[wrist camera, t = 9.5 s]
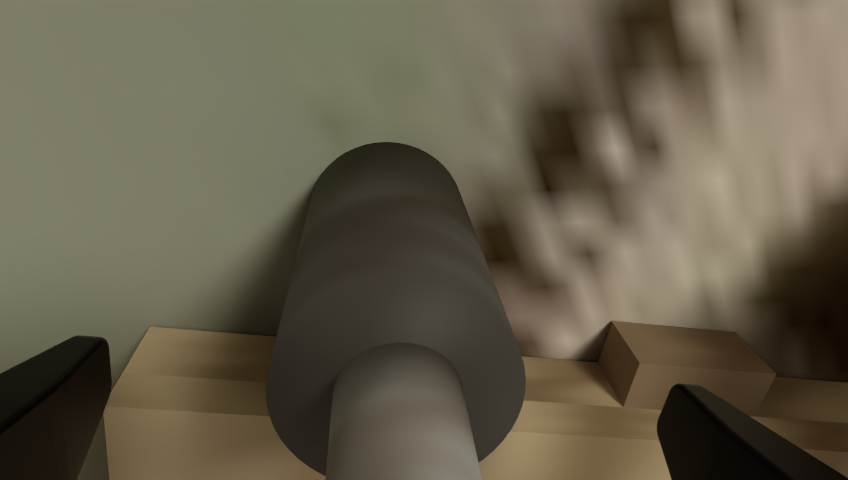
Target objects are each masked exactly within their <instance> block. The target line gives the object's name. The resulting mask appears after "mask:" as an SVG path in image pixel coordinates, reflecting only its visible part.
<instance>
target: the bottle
mask: <svg viewBox="0 0 848 480" xmlns="http://www.w3.org/2000/svg"><path fill="white" fill-rule="evenodd" d="M525 387H526V375H525V367H524V363H523V359H522V356H521V352H520V350H519V347H518V344H517V342H516V339H515V337H514V334H513V331H512V329H511V326H510V323H509V321H508V318H507V315H506V313H505V310H504V308H503V305H502V302H501V300H500V297H499V294H498V292H497V289H496V287H495V284H494V281H493V279H492V276H491V273H490V271H489V268H488V266H487V263H486V260H485V258H484V255H483V252H482V250H481V247H480V245H479V242H478V239H477V237H476V234H475V231H474V229H473V226H472V224H471V221H470V218H469V216H468V213H467V210H466V208H465V205H464V203H463V200H462V197H461V195H460V192H459V189H458V187H457V185H456V183H455V181H454V179H453V178H452V176H451V174H450V173H449V172H448V170H447V169H446V168H445V167H444V166H443V165H442V164H441V163H440V162H439V161H438V160H436V159H435V158H434V157H432V156H431V155H429V154H428V153H426V152H424V151H422V150H420V149H418V148H415V147H412V146H409V145H405V144H400V143H392V142H381V143H372V144H367V145H363V146H360V147H357V148H354V149H352V150H350V151H348V152H346V153H344V154H343V155H341V156H340V157H338V158H337V159H336V160H335V161H333V162H332V163H331V164H330V165H329V166H328V167H327V168H326V169H325V171H324V172H323V173H322V174H321V176H320V177H319V179H318V181H317V182H316V185H315V187H314V189H313V192H312V195H311V198H310V202H309V206H308V210H307V214H306V218H305V222H304V227H303V231H302V235H301V239H300V243H299V247H298V251H297V255H296V259H295V263H294V267H293V271H292V276H291V280H290V284H289V288H288V292H287V296H286V300H285V304H284V308H283V312H282V316H281V320H280V325H279V329H278V333H277V337H276V341H275V345H274V349H273V353H272V357H271V361H270V365H269V369H268V374H267V381H266V403H267V408H268V413H269V416H270V419H271V422H272V424H273V427H274V429H275V431H276V432H277V434H278V436H279V438H280V439H281V440H282V442H283V443H284V444H285V446H286V447H287V448H288V449H289V450H290V451H291V452H292V453H293V454H294V455H295V456H296V457H297V458H298V459H299V460H300V461H302V462H303V463H304V464H306V465H307V466H308V467H310V468H311V469H313V470H315V471H317V472H318V473H320V474H322V475H324V476H326V479H325V480H482V476H481V472H480V467H479V462H481V461H482V460H483V459H485V458H486V457H487V456H488V455H489V454H491V453H492V452H493V451H494V450H495V449H496V448H497V447H498V446H499V445H500V444H501V443H502V441H503V440H504V439H505V438H506V436H507V435H508V433H509V432H510V431H511V429H512V428H513V426H514V424H515V422H516V420H517V418H518V416H519V413H520V411H521V408H522V405H523V401H524V396H525Z"/></svg>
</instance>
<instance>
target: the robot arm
mask: <svg viewBox="0 0 848 480" xmlns="http://www.w3.org/2000/svg"><path fill="white" fill-rule="evenodd" d="M111 385H112V380H111V368H110V355H109V345H108V343H107V340H105V339H104V338H102V337H92V336H74V337H72V338H70V339H68V340H66V341H64V342H62V343H60V344H58V345H56V346H54V347H52V348H50V349H48V350H46V351H44V352H42V353H40V354H38V355H36V356H34V357H32V358H30V359H28V360H26V361H24V362H22V363H20V364H18V365H16V366H14V367H12V368H10V369H9V370H7V371H5V372H3V373H1V374H0V480H77V478H78V476H79V473H80V471H81V468H82V466H83V463H84V461H85V458H86V455H87V453H88V450H89V448H90V445H91V443H92V440H93V438H94V435H95V433H96V430H97V427H98V425H99V422H100V420H101V417H102V415H103V412H104V410H105V407H106V405H107V402H108V399H109V396H110V392H111ZM657 435H658V439H659V442H660V445H661V448H662V451H663V454H664V458H665V461H666V464H667V467H668V470H669V473H670V476H671V480H848V478H847V477H846V476H844V475H842V474H841V473H839V472H838V471H836V470H834V469H833V468H831V467H830V466H828V465H826V464H825V463H823V462H822V461H820V460H818V459H817V458H815V457H814V456H812V455H811V454H809V453H807V452H806V451H804V450H803V449H801V448H799V447H798V446H796V445H795V444H793V443H791V442H790V441H788V440H787V439H785V438H783V437H782V436H780V435H779V434H777V433H776V432H774V431H772V430H771V429H769V428H768V427H766V426H764V425H763V424H761V423H760V422H758V421H756V420H755V419H753V418H752V417H750V416H748V415H747V414H745V413H744V412H742V411H740V410H739V409H737V408H736V407H734V406H733V405H731V404H729V403H728V402H726V401H725V400H723V399H721V398H720V397H718V396H717V395H715V394H713V393H712V392H710V391H709V390H707V389H705V388H704V387H702V386H700V385H696V384H683V383H678V384H675V385H674V386H673V387H672V388H671V389H670V391H669V394H668V396H667V398H666V401H665V403H664V406H663V408H662V410H661V413H660V415H659V418H658V421H657Z"/></svg>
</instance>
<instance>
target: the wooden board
mask: <svg viewBox="0 0 848 480" xmlns="http://www.w3.org/2000/svg"><path fill="white" fill-rule="evenodd" d="M275 341H276V337H275V336H262V335H250V334H237V333H225V332H213V331H200V330H188V329H175V328H163V327H149V329H148V331H147V332H146V334H145V336H144V337H143V339H142V341H141V343H140V344H139V346H138V348H137V349H136V351H135V353H134V354H133V356H132V358H131V359H130V361H129V363H128V364H127V366H126V368H125V370H124V371H123V373H122V375H121V376H120V378H119V380H118V381H117V383H116V385H115V386H114V388H113V390H112V391H111V393H110V396H109V399H108V402H107V405H106V407H105V410H104V412H103V415H104V426H105V437H106V448H107V459H108V471H109V480H325V479H326V476H324V475H322V474H320V473H318V472H317V471H315V470H313V469H311V468H310V467H308V466H307V465H306V464H304V463H303V462H302V461H300V460H299V459H298V458H297V457H296V456H295V455H294V454H293V453H292V452H291V451H290V450H289V449H288V448H287V447H286V446H285V444H284V443H283V442H282V440H281V439H280V438H279V436H278V434H277V432H276V431H275V429H274V427H273V424H272V422H271V419H270V416H269V413H268V408H267V403H266V381H267V374H268V369H269V365H270V361H271V357H272V353H273V349H274V345H275ZM522 359H523V363H524V367H525V375H526V387H525V396H524V401H523V405H522V408H521V411H520V413H519V416H518V418H517V420H516V422H515V424H514V426H513V428H512V429H511V431H510V432H509V433H508V435H507V436H506V438H505V439H504V440H503V441H502V443H501V444H500V445H499V446H498V447H497V448H496V449H495V450H494V451H493V452H492V453H491V454H489V455H488V456H487V457H486V458H485V459H483V460H482V461H481V462H479V467H480V472H481V476H482V480H671V476H670V473H669V470H668V467H667V464H666V461H665V458H664V454H663V451H662V448H661V445H660V442H659V439H658V435H657V421H658V418H659V415H660V413H661V410H662V408H663V406H664V403H665V401H666V398H667V396H668V394H669V391H670V389H671V388H672V387H673V386H674V385H675V384H678V383H683V384H696V385H700V386H702V387H704V388H705V389H707V390H709V391H710V392H712V393H713V394H715V395H717V396H718V397H720V398H721V399H723V400H725V401H726V402H728V403H729V404H731V405H733V406H734V407H736V408H737V409H739V410H740V411H742V412H744V413H745V414H747V415H748V416H750V417H752V418H753V419H755V420H756V421H758V422H760V423H761V424H763V425H764V426H766V427H768V428H769V429H771V430H772V431H774V432H776V433H777V434H779V435H780V436H782V437H783V438H785V439H787V440H788V441H790V442H791V443H793V444H795V445H796V446H798V447H799V448H801V449H803V450H804V451H806V452H807V453H809V454H811V455H812V456H814V457H815V458H817V459H818V460H820V461H822V462H823V463H825V464H826V465H828V466H830V467H831V468H833V469H834V470H836V471H838V472H839V473H841V474H842V475H844V476H846V477H847V478H848V383H846V382H834V381H822V380H809V379H797V378H784V377H775V376H776V373H775V372H774V371H773V370H772V369H771V368H770V367H769V366H768V365H767V364H766V363H765V362H764V361H763V360H762V359H761V358H760V357H759V356H758V355H757V354H756V353H755V352H754V351H753V350H752V349H751V348H750V347H749V346H748V345H747V343H746V342H745V341H744V340H743V339H742V338H741V337H740V336H739V335H738V334H737V333H736V332H725V331H714V330H704V329H693V328H682V327H671V326H660V325H649V324H638V323H627V322H616V321H612V323H611V325H610V328H609V331H608V334H607V337H606V340H605V343H604V346H603V349H602V352H601V355H600V358H599V361H598V362H585V361H573V360H561V359H548V358H536V357H523V356H522Z"/></svg>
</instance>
